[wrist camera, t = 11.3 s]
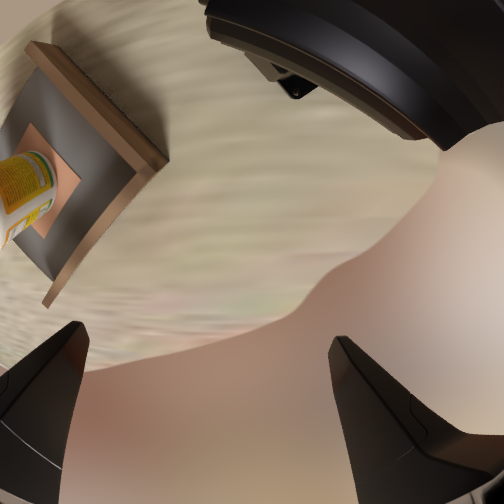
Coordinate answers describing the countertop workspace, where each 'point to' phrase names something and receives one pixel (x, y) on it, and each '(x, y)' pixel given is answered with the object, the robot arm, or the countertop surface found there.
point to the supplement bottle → (24, 192)
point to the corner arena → (75, 161)
